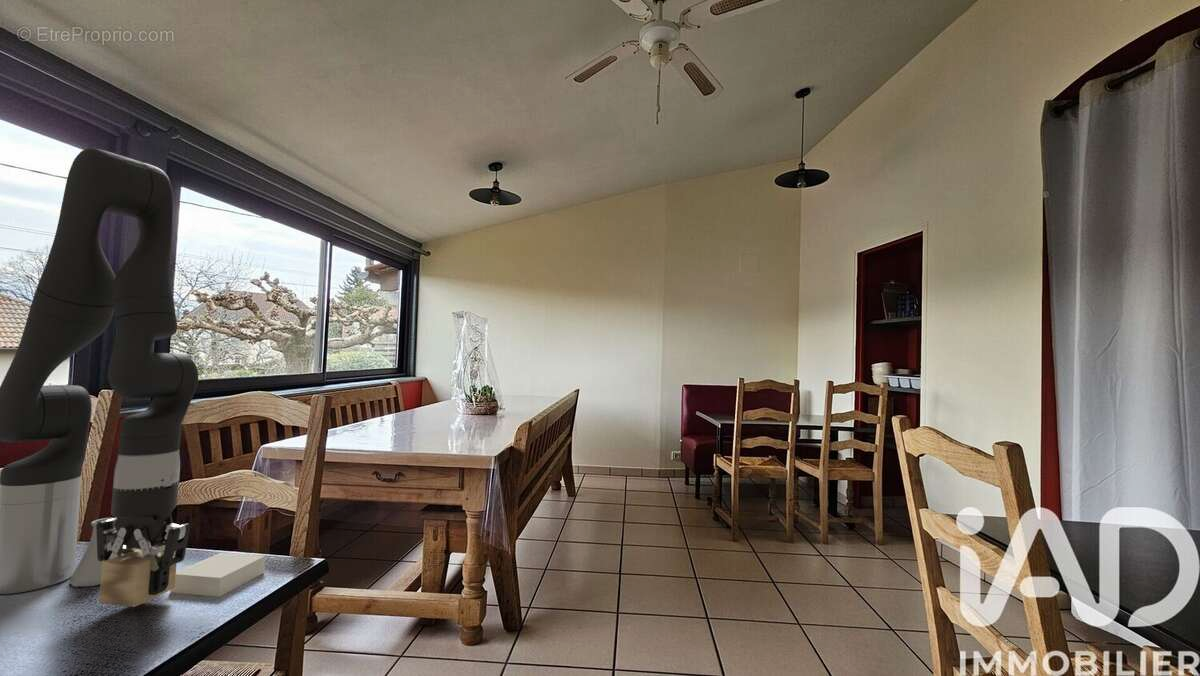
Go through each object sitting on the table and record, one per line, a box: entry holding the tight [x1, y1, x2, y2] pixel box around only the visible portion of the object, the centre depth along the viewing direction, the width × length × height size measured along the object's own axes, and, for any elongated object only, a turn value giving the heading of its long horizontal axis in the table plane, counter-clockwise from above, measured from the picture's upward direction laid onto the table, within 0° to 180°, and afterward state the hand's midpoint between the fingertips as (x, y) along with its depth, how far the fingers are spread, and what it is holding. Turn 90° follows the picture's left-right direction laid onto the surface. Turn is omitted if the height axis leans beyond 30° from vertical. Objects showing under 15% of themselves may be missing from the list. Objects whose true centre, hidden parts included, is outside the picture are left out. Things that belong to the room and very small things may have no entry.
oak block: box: [98, 546, 178, 608], centre depth 74 cm, size 6×6×6 cm
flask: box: [68, 517, 113, 588], centre depth 84 cm, size 7×7×10 cm
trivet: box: [169, 552, 266, 598], centre depth 83 cm, size 9×9×3 cm
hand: (138, 590), depth 74 cm, fingers closed on oak block, 6 cm apart
